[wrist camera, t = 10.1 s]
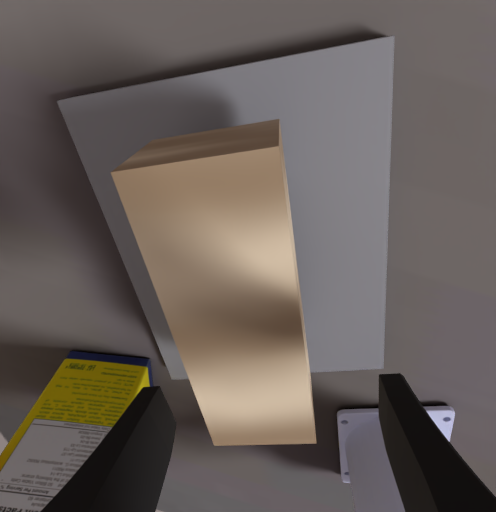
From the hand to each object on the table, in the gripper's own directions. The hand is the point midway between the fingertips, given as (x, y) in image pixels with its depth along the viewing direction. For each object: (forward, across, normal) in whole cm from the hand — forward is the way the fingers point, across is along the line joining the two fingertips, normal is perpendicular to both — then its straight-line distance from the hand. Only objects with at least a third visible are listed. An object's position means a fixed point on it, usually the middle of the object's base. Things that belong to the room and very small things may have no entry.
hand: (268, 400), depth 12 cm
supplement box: (+10, +13, +9) cm, 19 cm away
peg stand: (+9, +1, 0) cm, 9 cm away
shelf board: (+6, +1, -1) cm, 6 cm away
